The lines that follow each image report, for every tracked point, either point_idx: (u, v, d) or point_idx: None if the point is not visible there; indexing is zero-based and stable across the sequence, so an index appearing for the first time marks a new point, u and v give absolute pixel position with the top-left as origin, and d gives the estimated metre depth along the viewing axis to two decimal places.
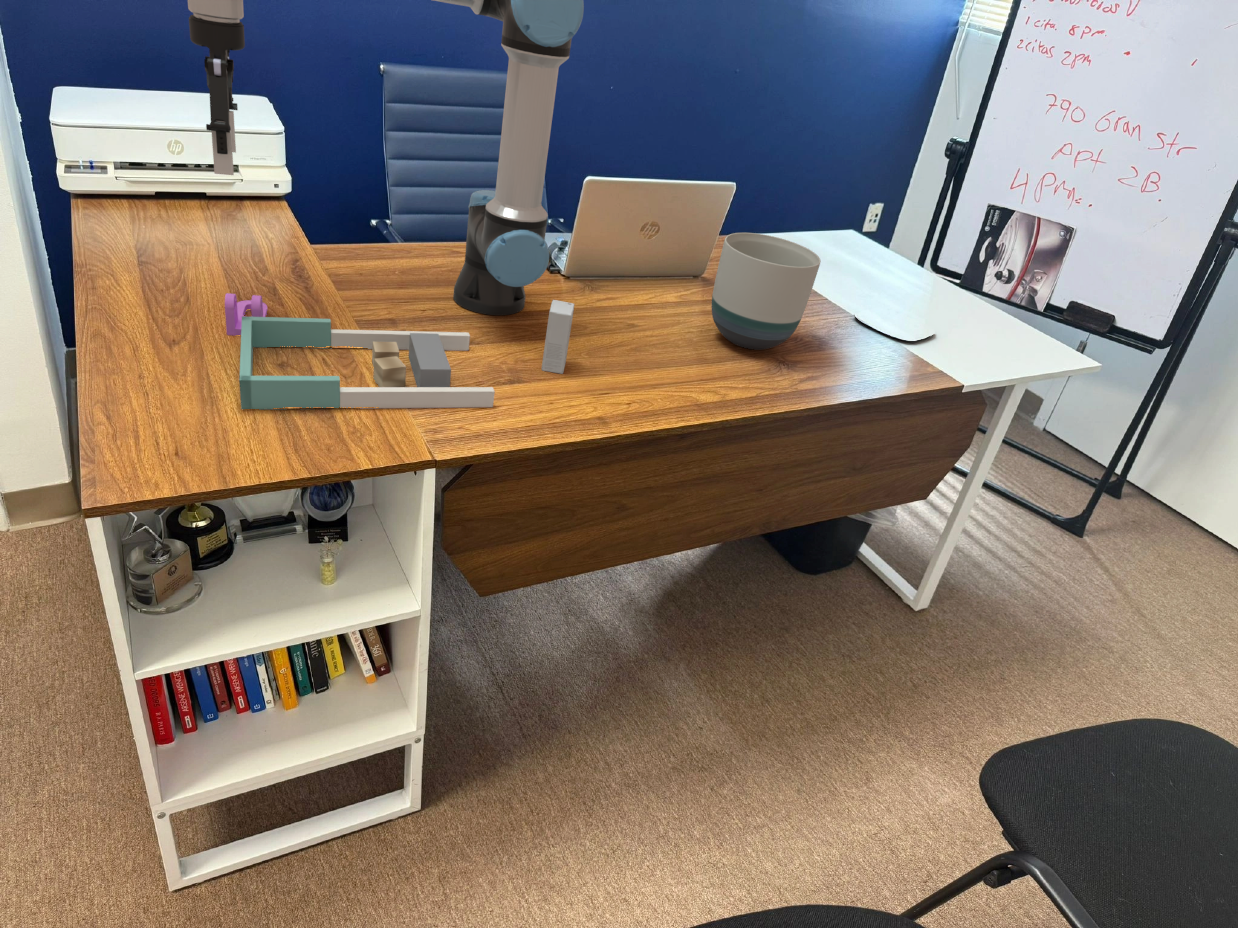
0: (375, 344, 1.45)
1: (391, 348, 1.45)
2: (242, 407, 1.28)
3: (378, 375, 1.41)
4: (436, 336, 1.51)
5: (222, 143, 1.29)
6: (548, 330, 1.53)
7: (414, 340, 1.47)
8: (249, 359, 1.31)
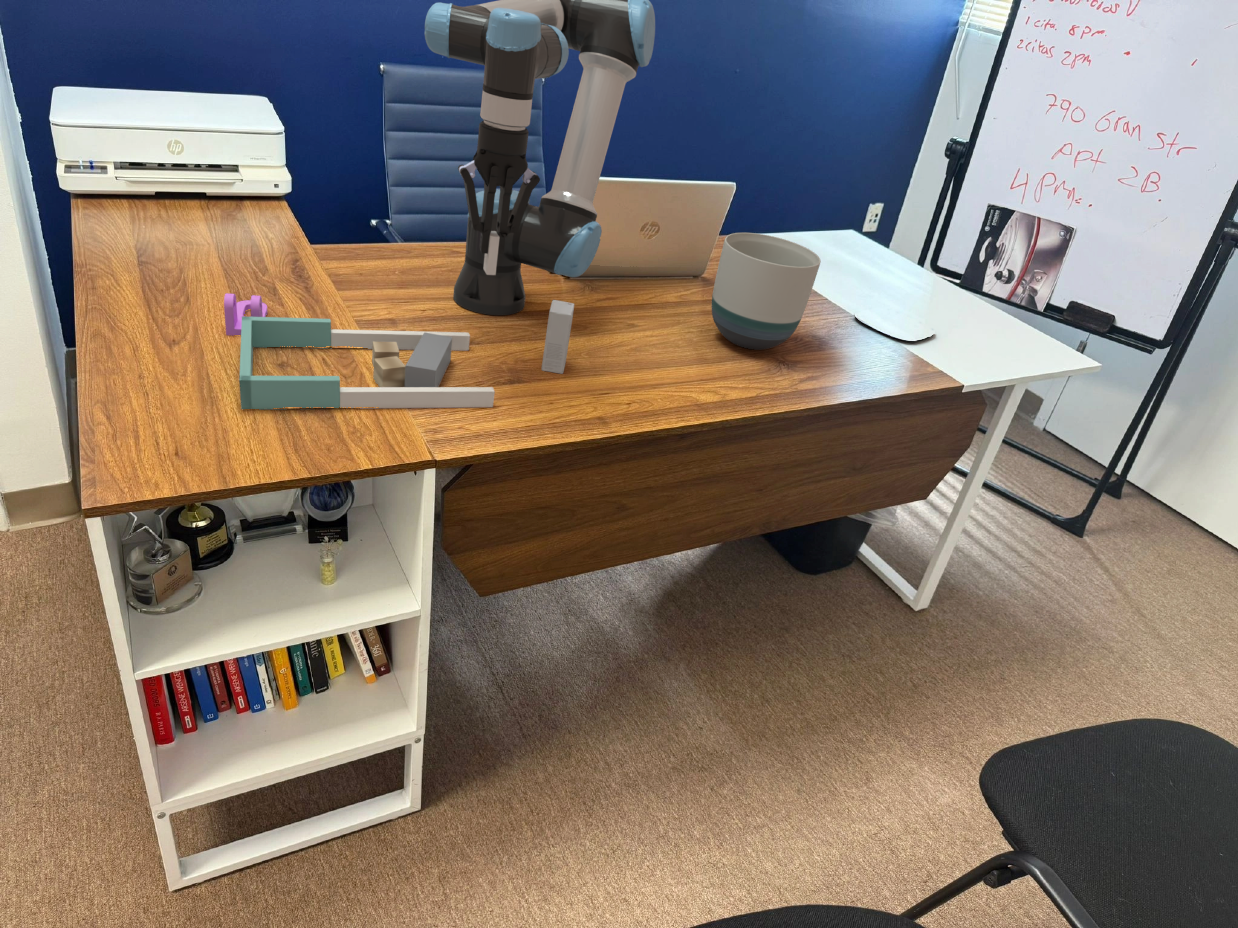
0: (375, 344, 1.45)
1: (391, 348, 1.45)
2: (242, 407, 1.28)
3: (378, 375, 1.41)
4: (448, 339, 1.50)
5: None
6: (548, 330, 1.53)
7: (422, 339, 1.48)
8: (249, 359, 1.31)
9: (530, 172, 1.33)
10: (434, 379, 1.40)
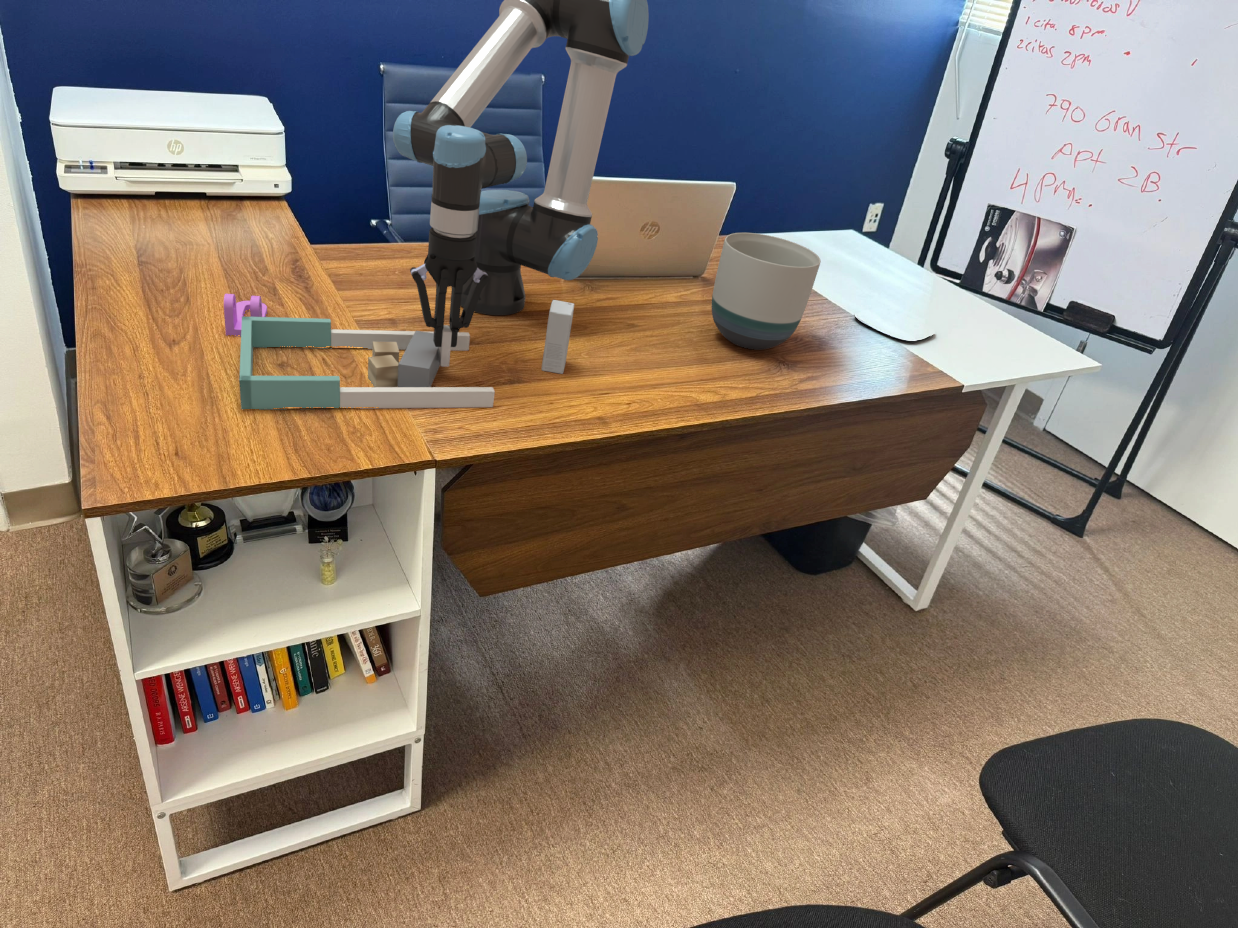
0: (375, 344, 1.45)
1: (391, 348, 1.45)
2: (242, 407, 1.28)
3: (372, 373, 1.41)
4: None
5: (435, 336, 1.44)
6: (548, 330, 1.53)
7: (414, 338, 1.48)
8: (249, 359, 1.31)
9: (480, 272, 1.40)
10: (427, 377, 1.40)
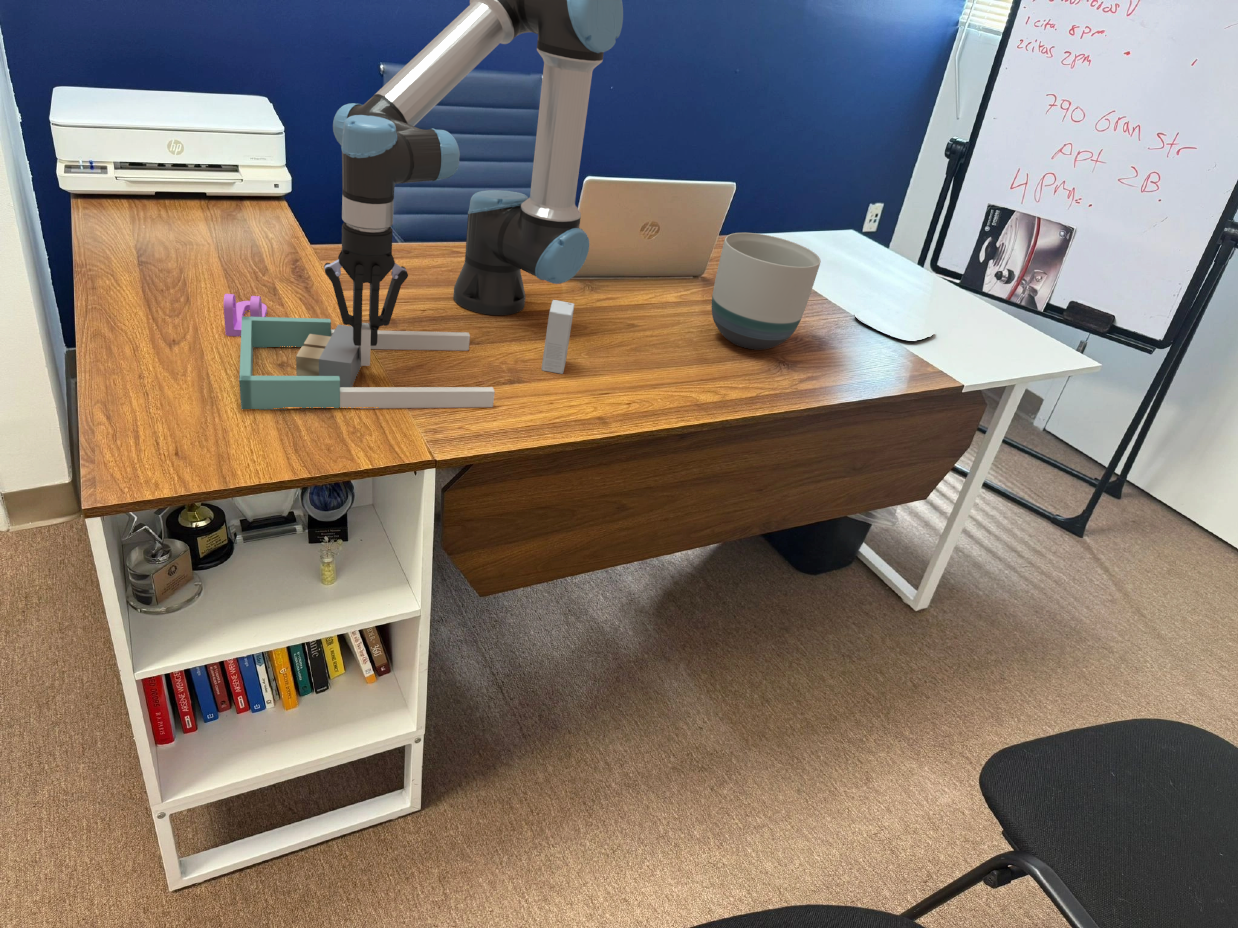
0: (310, 337, 1.43)
1: (323, 342, 1.42)
2: (242, 407, 1.28)
3: None
4: None
5: None
6: (548, 330, 1.53)
7: (336, 332, 1.44)
8: (249, 359, 1.31)
9: (398, 268, 1.35)
10: (350, 372, 1.37)
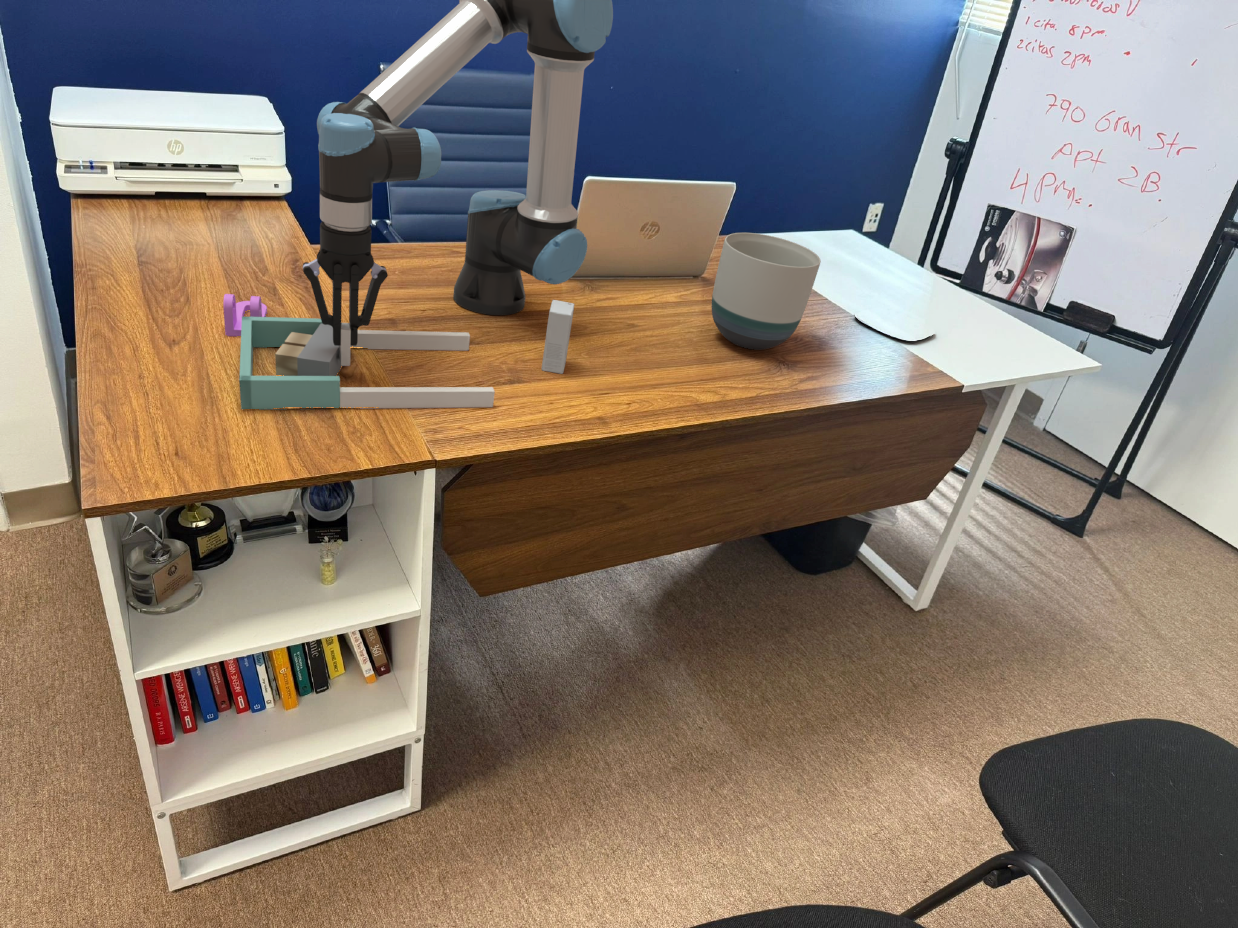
0: (291, 335, 1.43)
1: (304, 340, 1.42)
2: (242, 407, 1.28)
3: None
4: None
5: None
6: (548, 330, 1.53)
7: (318, 331, 1.44)
8: (249, 359, 1.31)
9: (377, 267, 1.34)
10: (328, 371, 1.36)
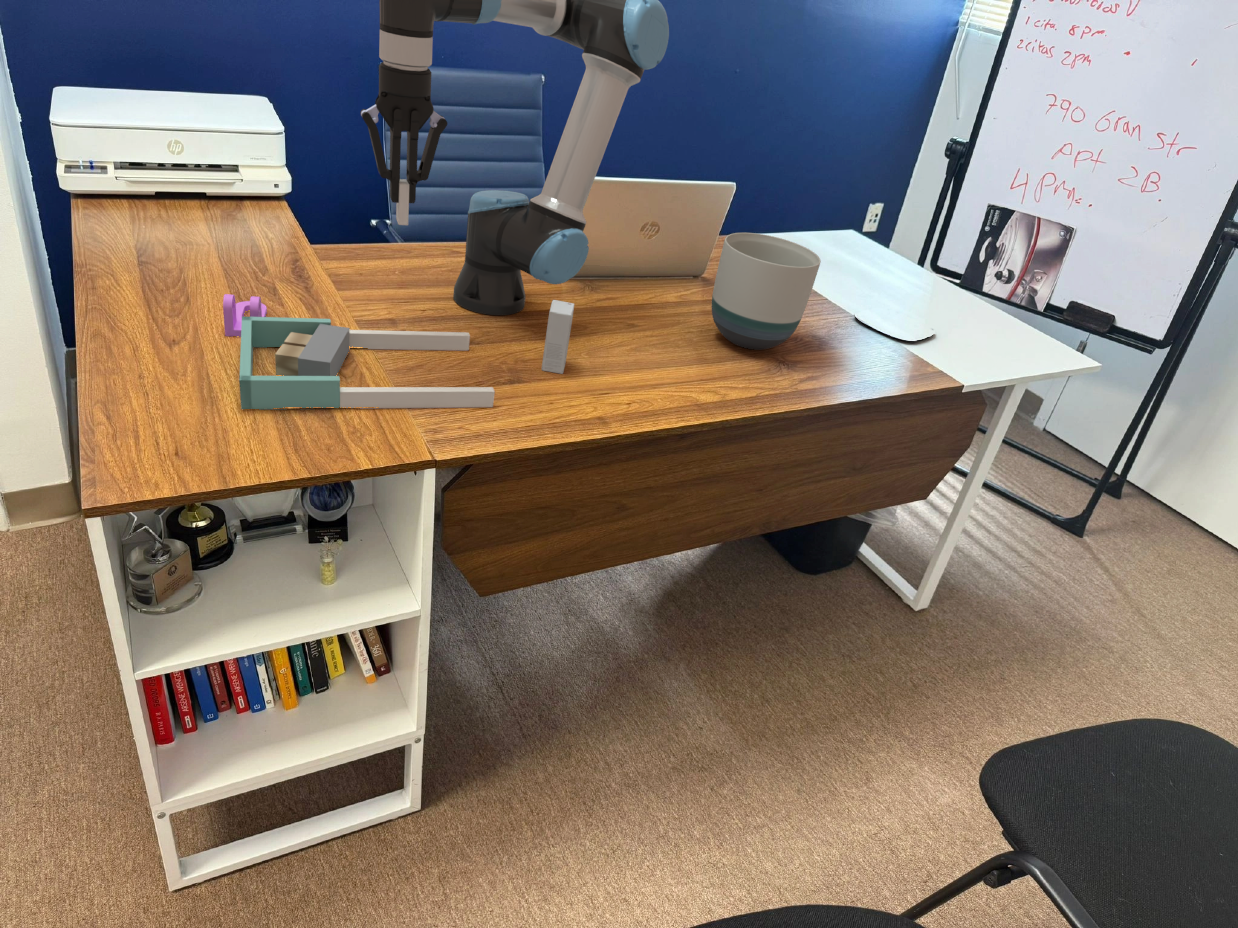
0: (291, 335, 1.43)
1: (304, 340, 1.42)
2: (242, 407, 1.28)
3: None
4: (345, 330, 1.46)
5: None
6: (548, 330, 1.53)
7: (317, 331, 1.44)
8: (249, 359, 1.31)
9: (437, 116, 1.29)
10: (329, 371, 1.36)
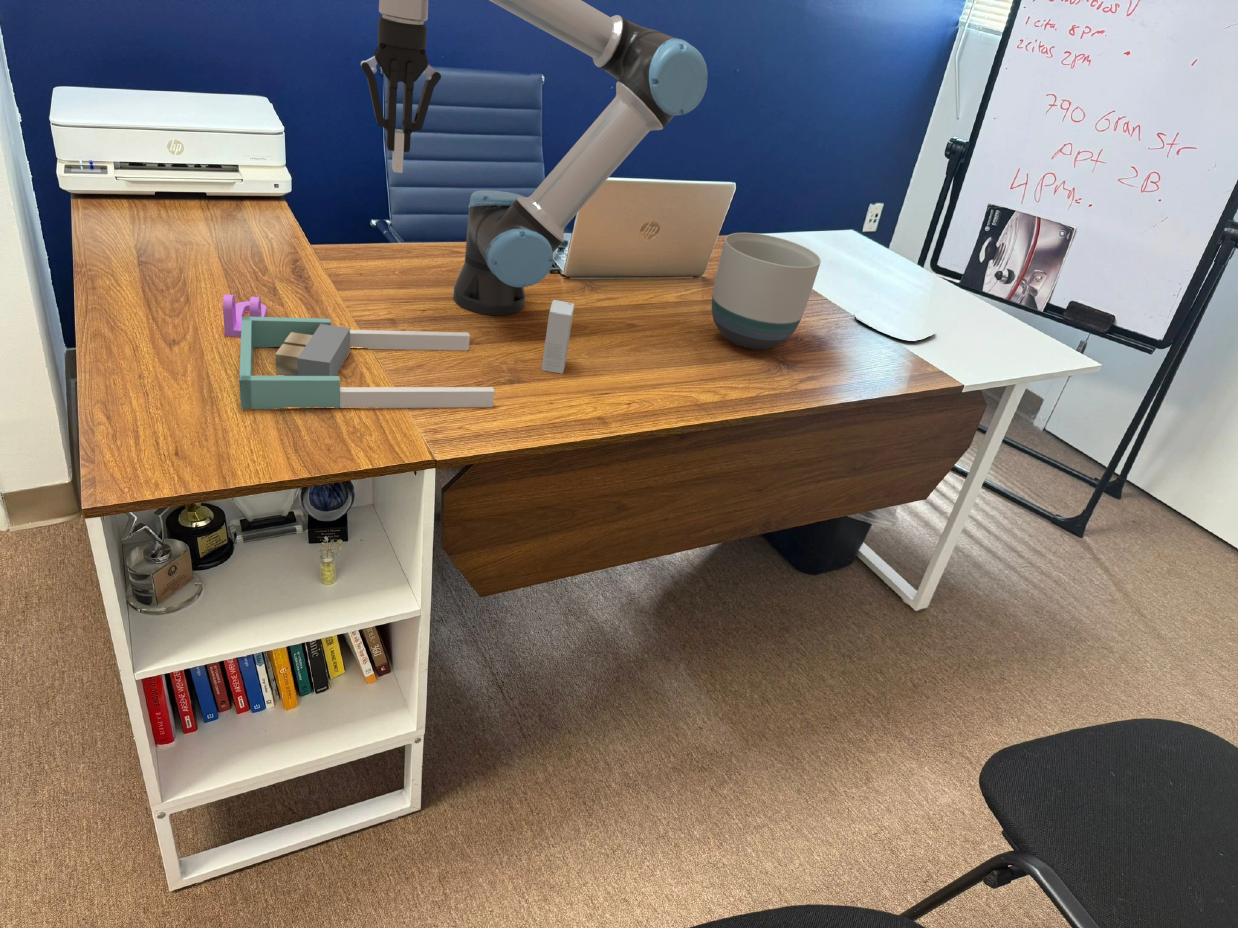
0: (291, 335, 1.43)
1: (304, 340, 1.42)
2: (242, 407, 1.28)
3: None
4: (346, 330, 1.46)
5: None
6: (548, 330, 1.53)
7: (318, 331, 1.44)
8: (249, 359, 1.31)
9: (431, 69, 1.39)
10: (328, 372, 1.36)
